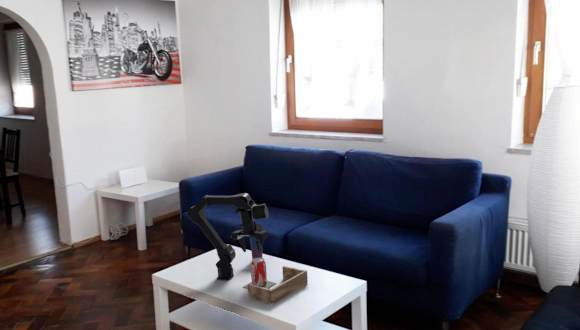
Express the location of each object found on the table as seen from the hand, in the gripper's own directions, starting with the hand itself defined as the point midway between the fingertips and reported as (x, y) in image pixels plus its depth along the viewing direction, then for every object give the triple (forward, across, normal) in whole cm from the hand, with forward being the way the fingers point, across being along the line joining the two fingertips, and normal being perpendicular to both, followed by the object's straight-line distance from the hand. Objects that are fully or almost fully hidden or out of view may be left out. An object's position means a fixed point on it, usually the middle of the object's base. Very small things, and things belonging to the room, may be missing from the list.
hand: (252, 252), depth 256 cm
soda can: (+13, -6, +6) cm, 16 cm away
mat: (+14, -6, +6) cm, 16 cm away
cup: (+12, +14, -19) cm, 27 cm away
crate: (+15, -17, +7) cm, 23 cm away
